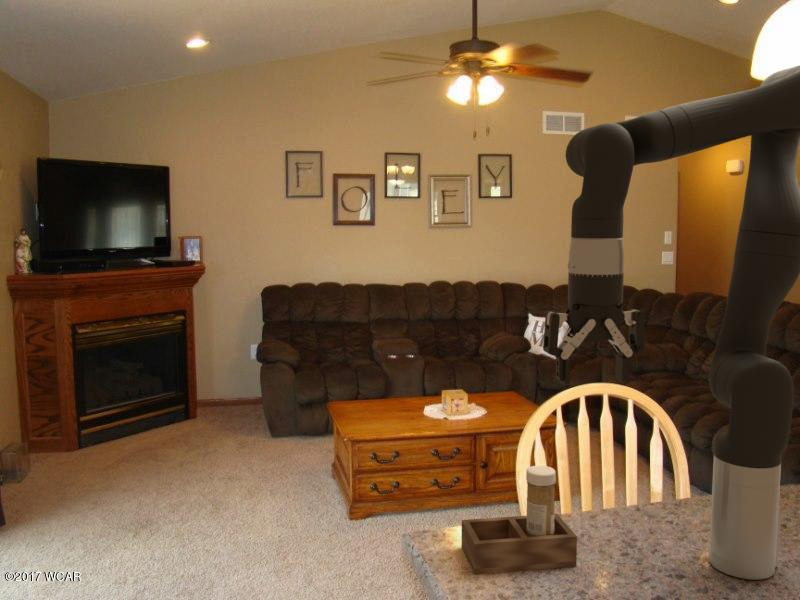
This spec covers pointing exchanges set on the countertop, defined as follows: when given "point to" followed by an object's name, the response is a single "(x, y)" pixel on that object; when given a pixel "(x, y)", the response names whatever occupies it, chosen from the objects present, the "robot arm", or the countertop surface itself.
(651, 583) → the countertop surface
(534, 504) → the sprinkles bottle
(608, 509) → the countertop surface
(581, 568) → the countertop surface
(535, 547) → the spice caddy
